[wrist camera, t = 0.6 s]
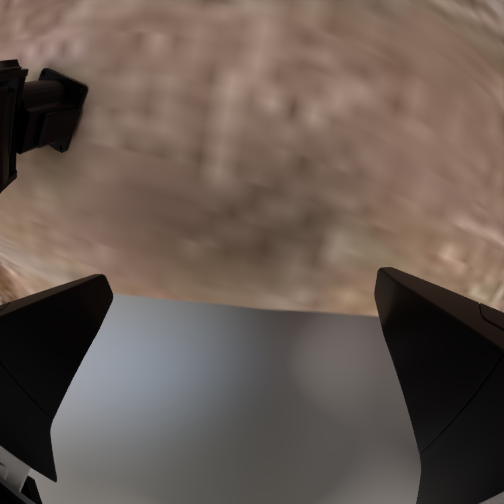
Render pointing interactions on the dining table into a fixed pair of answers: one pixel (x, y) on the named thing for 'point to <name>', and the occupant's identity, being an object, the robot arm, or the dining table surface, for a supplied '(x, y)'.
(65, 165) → the dining table surface
